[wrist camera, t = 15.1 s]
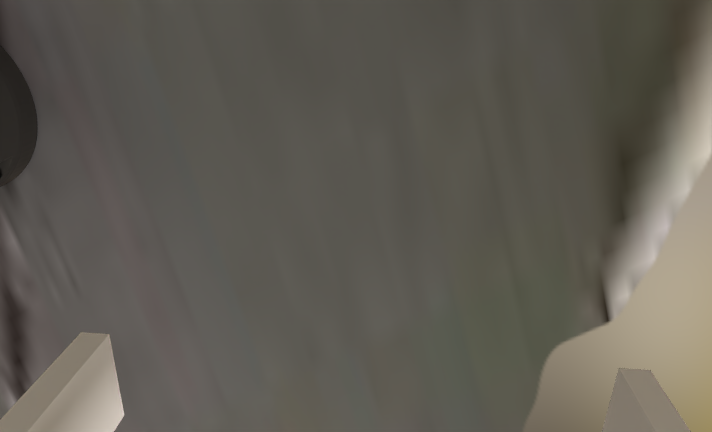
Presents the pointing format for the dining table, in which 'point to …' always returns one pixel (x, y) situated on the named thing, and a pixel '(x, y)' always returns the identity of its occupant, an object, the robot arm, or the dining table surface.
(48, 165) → the dining table surface
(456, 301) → the dining table surface
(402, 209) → the dining table surface
